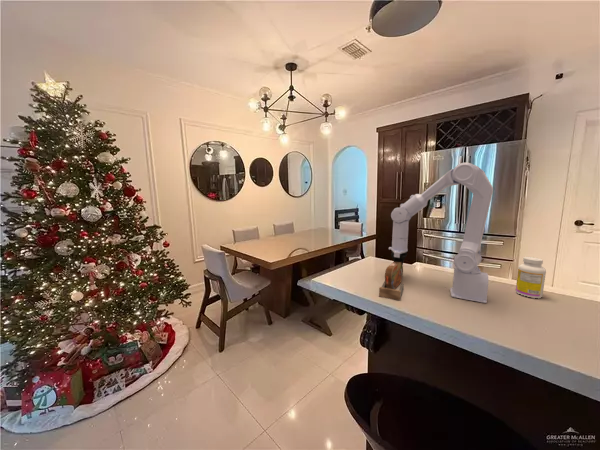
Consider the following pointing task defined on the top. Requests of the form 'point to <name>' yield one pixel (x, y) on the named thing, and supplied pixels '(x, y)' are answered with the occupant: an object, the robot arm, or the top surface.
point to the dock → (391, 292)
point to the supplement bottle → (531, 277)
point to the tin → (393, 275)
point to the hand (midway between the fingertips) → (398, 270)
